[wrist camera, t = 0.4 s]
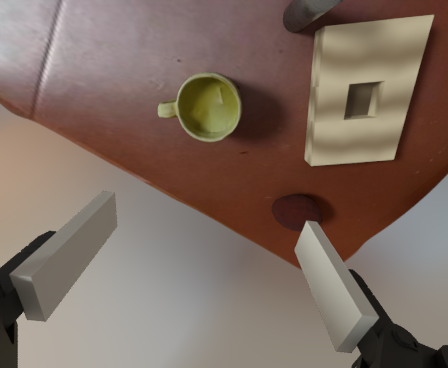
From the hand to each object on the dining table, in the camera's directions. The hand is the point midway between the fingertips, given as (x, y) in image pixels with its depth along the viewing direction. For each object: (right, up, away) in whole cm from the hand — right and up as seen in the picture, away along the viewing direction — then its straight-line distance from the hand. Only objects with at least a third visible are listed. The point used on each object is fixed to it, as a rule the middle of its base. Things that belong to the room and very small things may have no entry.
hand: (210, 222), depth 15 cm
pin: (+11, +27, +16) cm, 33 cm away
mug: (-3, +16, +21) cm, 27 cm away
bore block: (+22, +17, +21) cm, 35 cm away
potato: (+15, -2, +30) cm, 34 cm away
